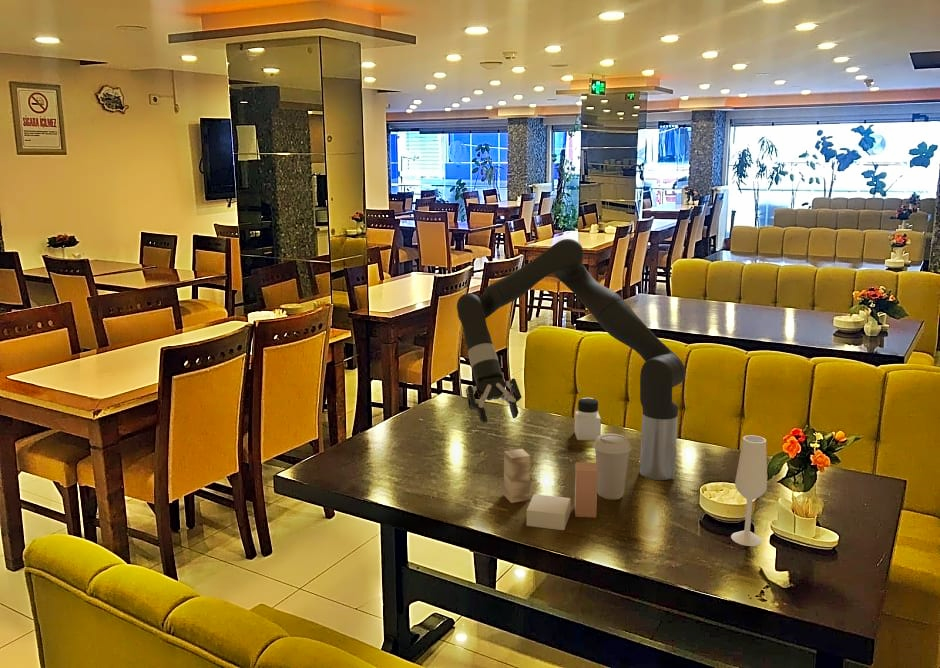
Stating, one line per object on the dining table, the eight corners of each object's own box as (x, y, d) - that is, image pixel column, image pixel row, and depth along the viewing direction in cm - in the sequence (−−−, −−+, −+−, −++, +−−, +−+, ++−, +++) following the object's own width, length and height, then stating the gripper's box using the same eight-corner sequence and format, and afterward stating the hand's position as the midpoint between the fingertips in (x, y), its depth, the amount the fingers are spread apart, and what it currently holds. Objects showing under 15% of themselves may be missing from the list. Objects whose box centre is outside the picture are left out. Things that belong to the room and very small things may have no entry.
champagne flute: (745, 548, 169) (754, 446, 164) (724, 535, 175) (731, 436, 170) (768, 542, 172) (777, 441, 167) (747, 529, 178) (755, 431, 173)
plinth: (570, 513, 187) (570, 498, 186) (564, 530, 178) (564, 514, 177) (533, 509, 189) (533, 494, 188) (526, 525, 181) (526, 510, 180)
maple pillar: (521, 492, 199) (522, 448, 196) (529, 499, 194) (530, 455, 192) (503, 494, 197) (504, 451, 194) (511, 503, 193) (511, 458, 190)
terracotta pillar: (594, 508, 189) (596, 462, 187) (596, 517, 185) (597, 471, 182) (574, 507, 190) (575, 462, 187) (575, 516, 185) (576, 470, 182)
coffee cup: (584, 490, 200) (586, 435, 196) (615, 483, 203) (617, 430, 200) (605, 504, 191) (607, 448, 188) (637, 498, 195) (639, 442, 191)
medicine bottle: (600, 440, 234) (601, 403, 231) (577, 440, 234) (578, 403, 231) (597, 432, 241) (598, 395, 238) (574, 432, 241) (575, 395, 238)
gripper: (504, 365, 213) (520, 420, 207) (456, 372, 208) (471, 428, 202) (513, 354, 206) (529, 411, 200) (463, 361, 201) (478, 419, 196)
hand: (500, 420), depth 201 cm, fingers open, 8 cm apart
